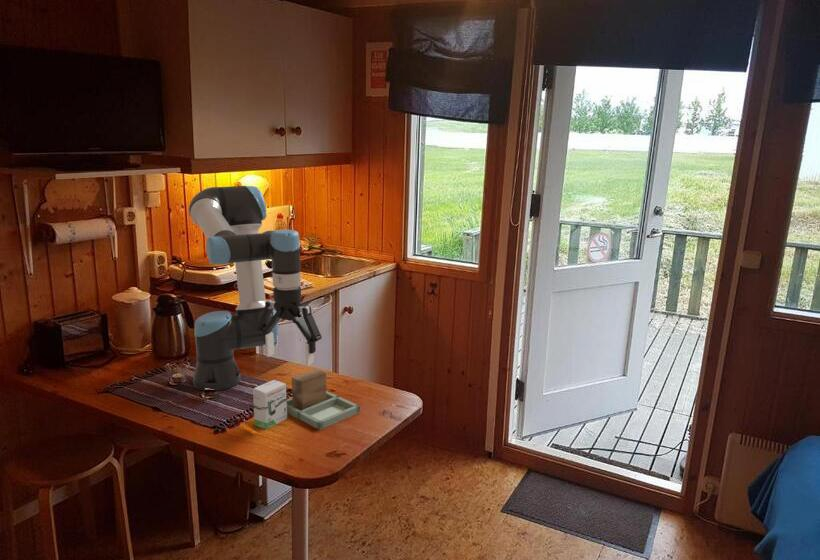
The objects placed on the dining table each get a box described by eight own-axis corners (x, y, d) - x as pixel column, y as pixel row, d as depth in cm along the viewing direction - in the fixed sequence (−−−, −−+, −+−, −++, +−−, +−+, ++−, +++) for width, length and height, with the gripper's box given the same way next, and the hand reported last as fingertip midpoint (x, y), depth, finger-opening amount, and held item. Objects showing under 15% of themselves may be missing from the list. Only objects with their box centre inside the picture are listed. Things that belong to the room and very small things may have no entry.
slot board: (279, 411, 181) (278, 402, 180) (318, 395, 192) (318, 387, 191) (320, 432, 168) (319, 423, 167) (360, 414, 179) (359, 405, 178)
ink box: (266, 432, 168) (264, 393, 165) (253, 427, 171) (251, 389, 168) (288, 420, 175) (286, 382, 172) (276, 416, 178) (274, 378, 175)
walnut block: (292, 408, 181) (291, 377, 179) (316, 398, 187) (315, 368, 185) (303, 413, 178) (302, 381, 175) (326, 403, 184) (325, 373, 182)
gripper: (241, 284, 167) (246, 356, 172) (317, 295, 156) (319, 371, 162) (259, 278, 173) (262, 348, 179) (333, 289, 163) (334, 362, 168)
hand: (289, 359), depth 170 cm, fingers open, 13 cm apart
